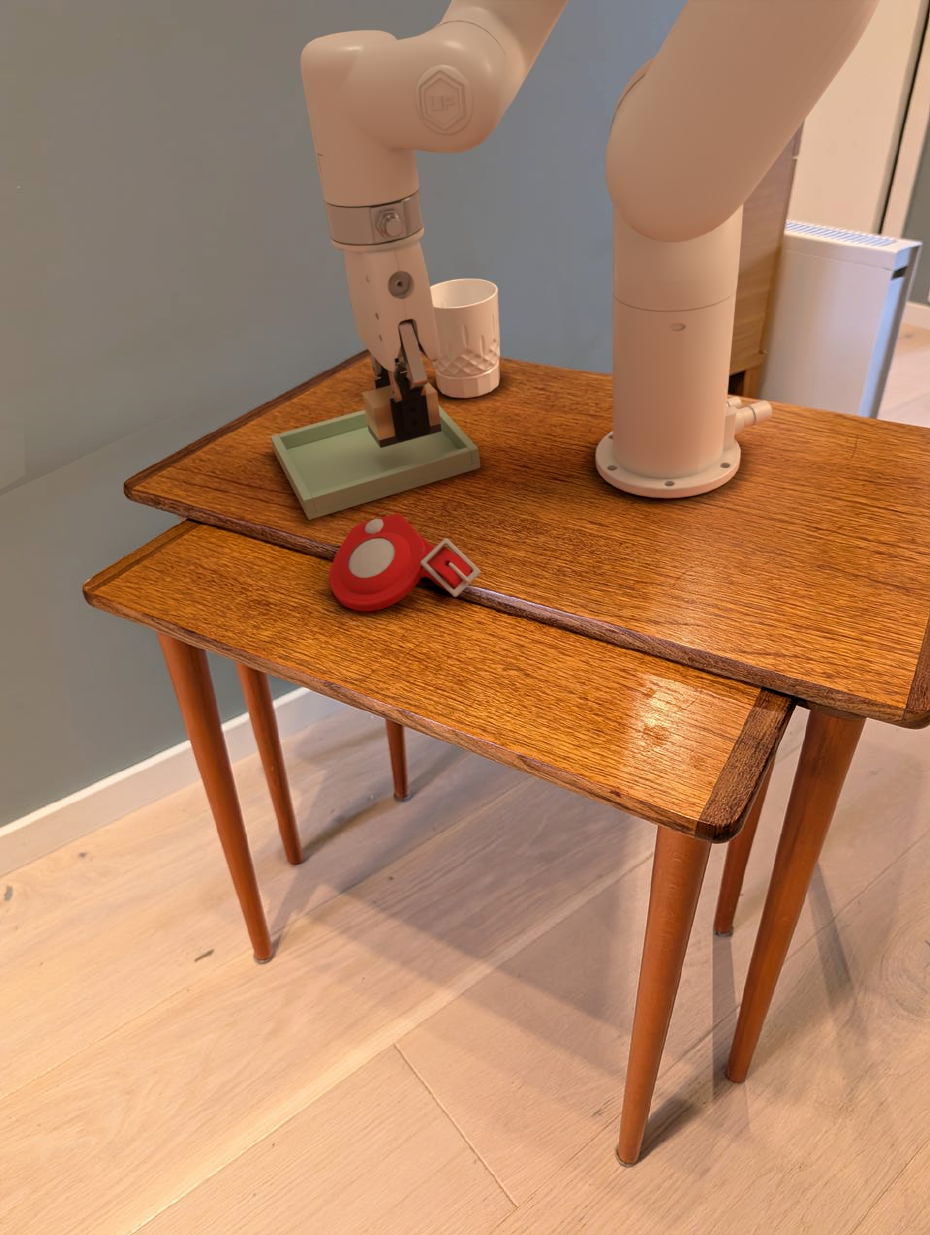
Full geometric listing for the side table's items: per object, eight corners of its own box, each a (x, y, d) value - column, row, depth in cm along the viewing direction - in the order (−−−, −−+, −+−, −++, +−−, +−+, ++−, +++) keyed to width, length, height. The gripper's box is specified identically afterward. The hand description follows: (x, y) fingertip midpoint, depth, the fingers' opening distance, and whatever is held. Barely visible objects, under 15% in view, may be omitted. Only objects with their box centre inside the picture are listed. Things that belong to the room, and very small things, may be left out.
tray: (430, 410, 93) (427, 391, 92) (480, 468, 83) (478, 448, 82) (275, 454, 89) (270, 435, 88) (308, 520, 79) (303, 500, 78)
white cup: (480, 406, 92) (470, 311, 86) (418, 394, 96) (404, 302, 90) (518, 375, 97) (512, 282, 91) (458, 364, 101) (447, 275, 95)
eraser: (428, 415, 85) (423, 376, 83) (441, 431, 83) (437, 391, 80) (368, 431, 84) (361, 392, 81) (380, 448, 81) (373, 408, 79)
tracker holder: (320, 613, 67) (323, 515, 73) (345, 644, 70) (346, 548, 76) (473, 571, 64) (463, 473, 70) (492, 605, 68) (481, 509, 74)
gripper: (457, 235, 66) (477, 454, 78) (387, 186, 78) (413, 382, 90) (360, 257, 64) (395, 478, 76) (303, 202, 76) (342, 400, 88)
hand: (405, 424), depth 83 cm, fingers closed on eraser, 3 cm apart
